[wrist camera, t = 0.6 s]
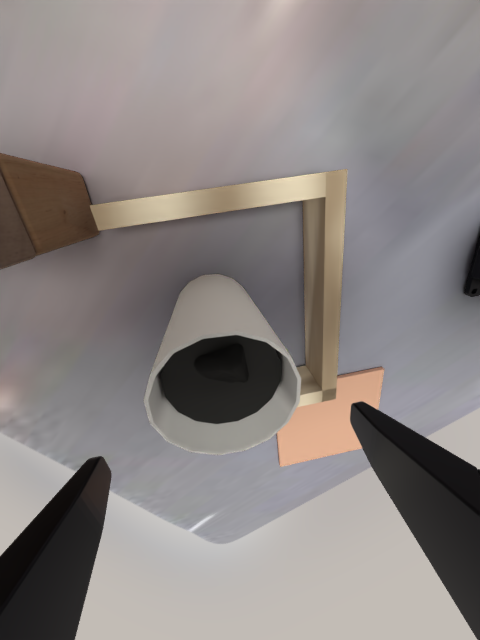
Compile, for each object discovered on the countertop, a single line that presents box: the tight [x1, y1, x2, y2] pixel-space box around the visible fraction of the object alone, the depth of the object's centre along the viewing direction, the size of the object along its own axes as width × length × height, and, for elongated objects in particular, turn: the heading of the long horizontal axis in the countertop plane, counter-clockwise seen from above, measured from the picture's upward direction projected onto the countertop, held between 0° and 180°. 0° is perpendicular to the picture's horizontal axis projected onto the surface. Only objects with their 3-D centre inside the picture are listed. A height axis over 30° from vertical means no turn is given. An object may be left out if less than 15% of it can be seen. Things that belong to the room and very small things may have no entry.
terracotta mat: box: [277, 367, 384, 467], centre depth 26 cm, size 11×11×1 cm
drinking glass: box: [144, 274, 301, 455], centre depth 15 cm, size 7×7×10 cm
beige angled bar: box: [90, 169, 347, 407], centre depth 18 cm, size 14×16×4 cm
